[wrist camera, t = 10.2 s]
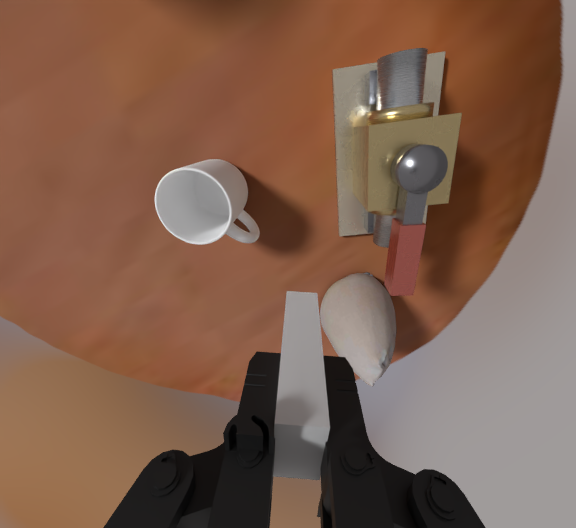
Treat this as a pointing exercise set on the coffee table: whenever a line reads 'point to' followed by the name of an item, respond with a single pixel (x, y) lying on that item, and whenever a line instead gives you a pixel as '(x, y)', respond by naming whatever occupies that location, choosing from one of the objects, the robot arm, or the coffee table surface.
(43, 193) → the coffee table surface
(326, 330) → the sculpture
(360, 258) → the coffee table surface
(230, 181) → the mug
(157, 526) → the robot arm
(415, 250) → the lever
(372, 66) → the valve body
